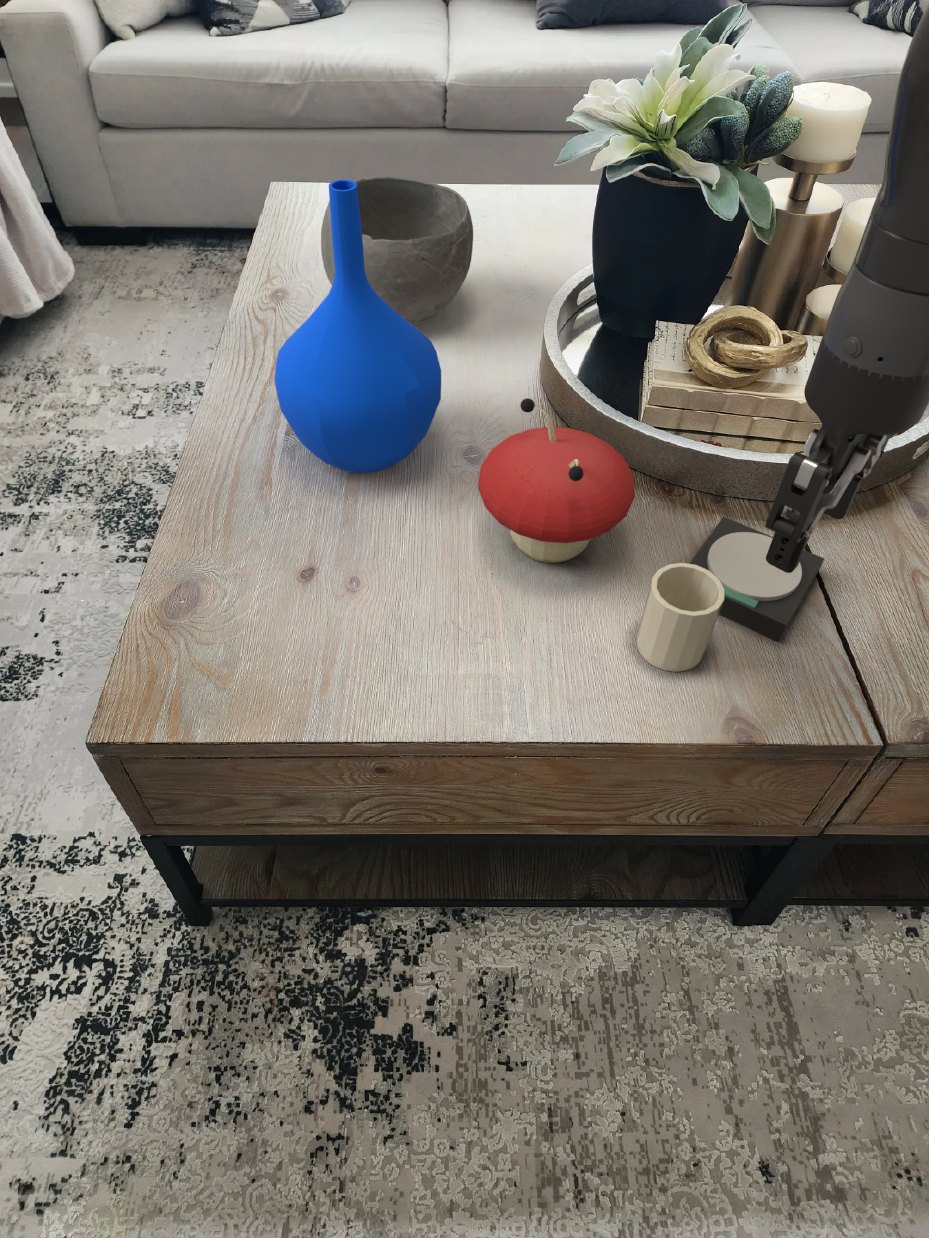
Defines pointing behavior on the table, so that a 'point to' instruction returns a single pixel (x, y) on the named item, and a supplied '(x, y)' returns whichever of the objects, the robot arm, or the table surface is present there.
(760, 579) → the kitchen scale
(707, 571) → the beige cup
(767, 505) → the table surface
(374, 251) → the bowl
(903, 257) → the robot arm
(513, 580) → the table surface
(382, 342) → the vase
